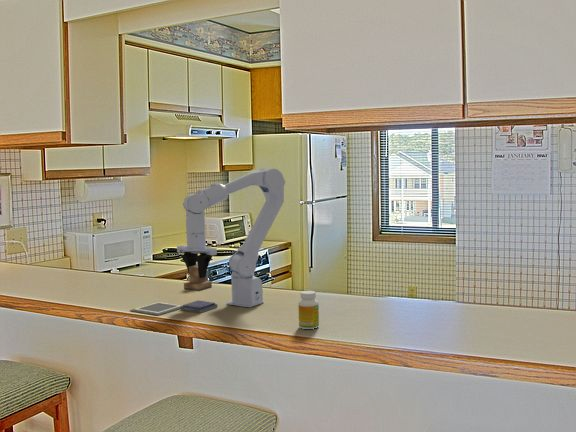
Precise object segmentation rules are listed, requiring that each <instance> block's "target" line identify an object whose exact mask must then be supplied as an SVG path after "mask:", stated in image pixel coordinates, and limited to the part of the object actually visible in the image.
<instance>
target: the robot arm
mask: <svg viewBox="0 0 576 432" xmlns="http://www.w3.org/2000/svg"><path fill="white" fill-rule="evenodd" d="M285 184H286V180H285V178H284V175H283V173H282V172H281V170H279V169H278V168H266V167H265V168H260V169H259V170H255V171H254V170H253V171H251V172H249V173H246V174H244V175H242V176H240V177H238V178H236V179H233V180H232V181H229V182H228V183H225V184H223V183H220V182H217V183H216V182H212V183H210V186H208V187H206V188H203V189H198V190H196V193H189V194H188V195H186V196H185V198H184V201H183V202H182V206H183V209H185V229H186V245H177V246H176V252H177V253H179V254H180V253H183V254H181V259H182V260H183V261H184V264H185V266H186V268H187V272H188V273H189V267H190V266H194V265H196V262H197V263H198V269H199V277H200V278H204V277H206V272H207V269H208V267H209V265H210V262H211V260H212V258H213V256H216V255H218V254H217V253H218V251H217V250H218V249H217V248H216V247H215V248H214V247H210V246H206V244H207V243H206V242H207V241H206V218H205V210H206V209H208V208H211V207H214V206H215V205H217V204H220V203H222V202H225V201H226V200H227V199H228V196H229V195H230V194H233V193H235V192H238V191H240V190H243V189H245V188H248V187H251V186H256V187H257V186H258V187H259V188H260V189H261V191H262V193H263V196H264V198H265V202H264V204H263V206H262V208H261V209H260V211H259V213H258V215H257V217H256V219H255V221H254V223H253V225H252V227H251V229H250V231H249V232H248V235H247V237H246V238H245V240H244V242H243V244H241V245H240V246H239V247H238V249H237V251H236V252H235V253H233V254H232V255H231V256H230V257H229V259H228V266H229V268H230V270H231V271H232V272H231V275H230V278H231V279H230V280H231V281H230V282H231V301H227V302H226V305H229V306H230V305H231V306H237V307H243V308H253V307H255V306H257V305H260V304H264V303H265V300H264V298H263V297H264V296H263V291H264V290H263V282H262V279H261V278H260V277H257V276H255V272H256V269H257V261H258V259H259V250H260V248H261V247H262V244H263V242H264V241H265V239H266V237H267V235H268V233H269V231H270V229H271V227H272V225H273V223H274V222H275V219H276V218H277V216H278V214H279V212H280V210H281V208H282V206H283V204H284V200H285Z"/></svg>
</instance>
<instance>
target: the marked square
mask: <svg viewBox="0 0 576 432" xmlns="http://www.w3.org/2000/svg"><path fill="white" fill-rule="evenodd" d="M182 306H183V305H179V304H174V303H166V302H161V301H159V302H158V301H157V302H154V303H150V304H147V305H144V306H140V307H136V308H133V309H130V310H129V311H130V312H133V313H139V314H140V313H141V314H145V315H146V314H147V315H151V316H157V317H158V316H163V315H165V314H169V313H171V312H174V311H175V312H176V311H179V310H181V307H182ZM178 309H179V310H178Z"/></svg>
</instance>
